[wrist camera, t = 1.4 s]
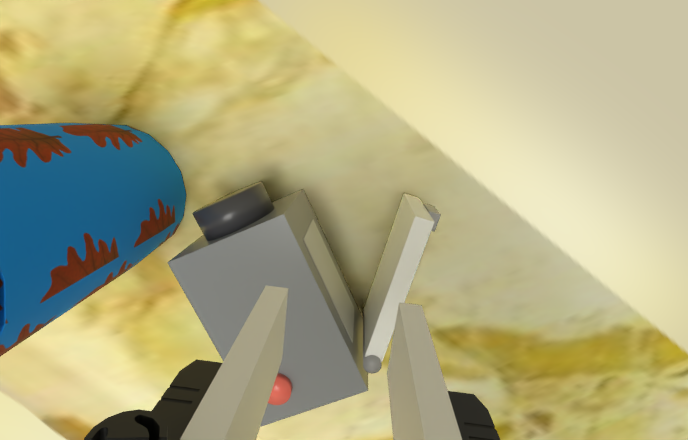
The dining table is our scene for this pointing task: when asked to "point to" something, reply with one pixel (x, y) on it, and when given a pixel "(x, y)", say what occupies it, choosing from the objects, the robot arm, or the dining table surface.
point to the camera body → (279, 271)
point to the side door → (395, 276)
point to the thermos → (77, 215)
